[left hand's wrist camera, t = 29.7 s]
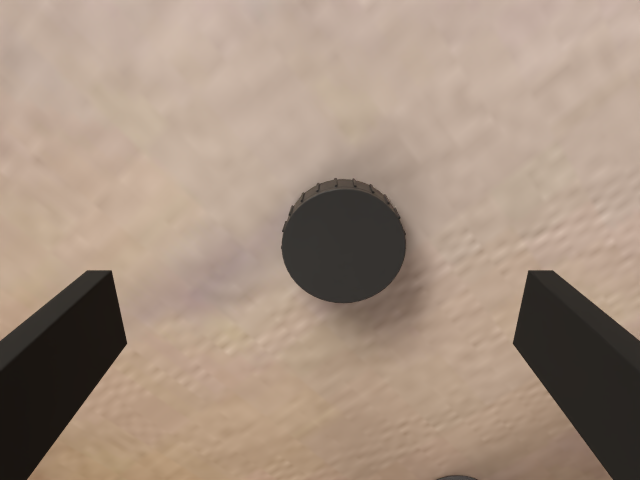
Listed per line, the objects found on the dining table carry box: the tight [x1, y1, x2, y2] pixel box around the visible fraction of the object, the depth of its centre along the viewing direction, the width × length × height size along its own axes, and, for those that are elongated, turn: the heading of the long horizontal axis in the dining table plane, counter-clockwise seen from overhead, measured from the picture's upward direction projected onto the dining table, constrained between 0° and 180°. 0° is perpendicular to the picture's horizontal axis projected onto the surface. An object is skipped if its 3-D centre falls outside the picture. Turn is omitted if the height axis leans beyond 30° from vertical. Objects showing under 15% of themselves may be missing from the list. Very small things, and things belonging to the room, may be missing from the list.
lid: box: [281, 178, 406, 303], centre depth 18 cm, size 6×6×2 cm
